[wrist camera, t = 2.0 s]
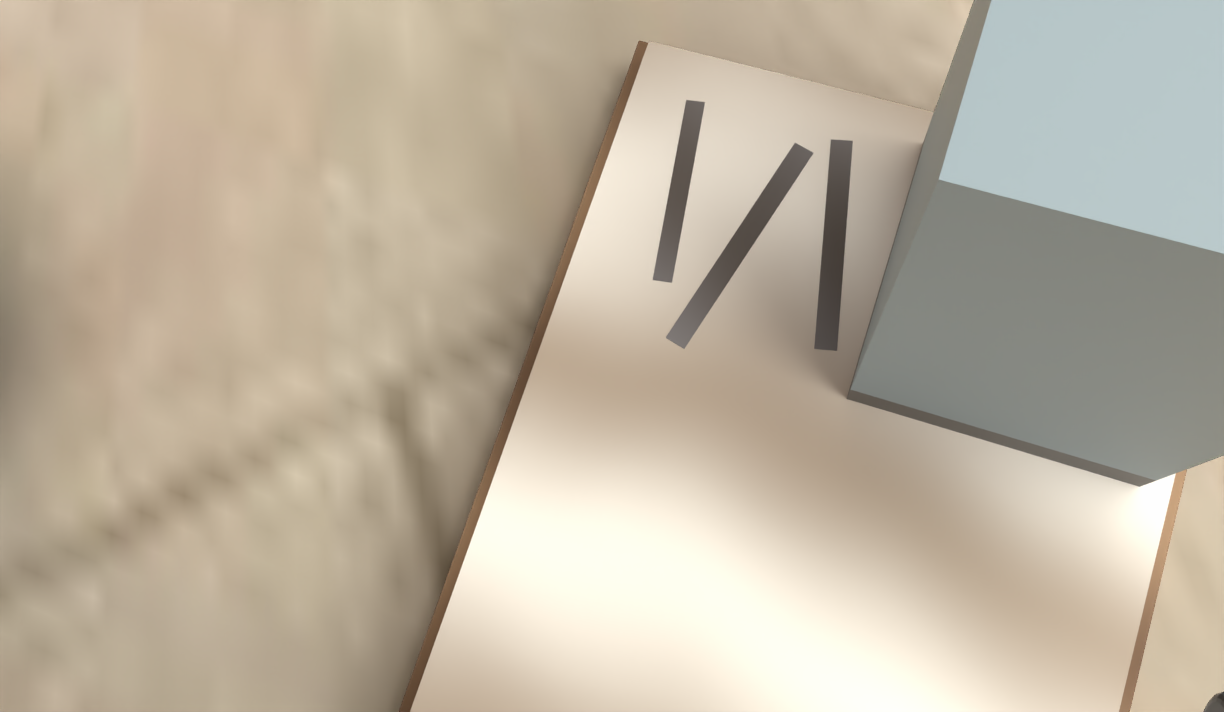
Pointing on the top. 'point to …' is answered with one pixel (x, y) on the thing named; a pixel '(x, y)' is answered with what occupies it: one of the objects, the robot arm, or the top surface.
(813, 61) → the top surface
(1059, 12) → the block
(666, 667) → the board
